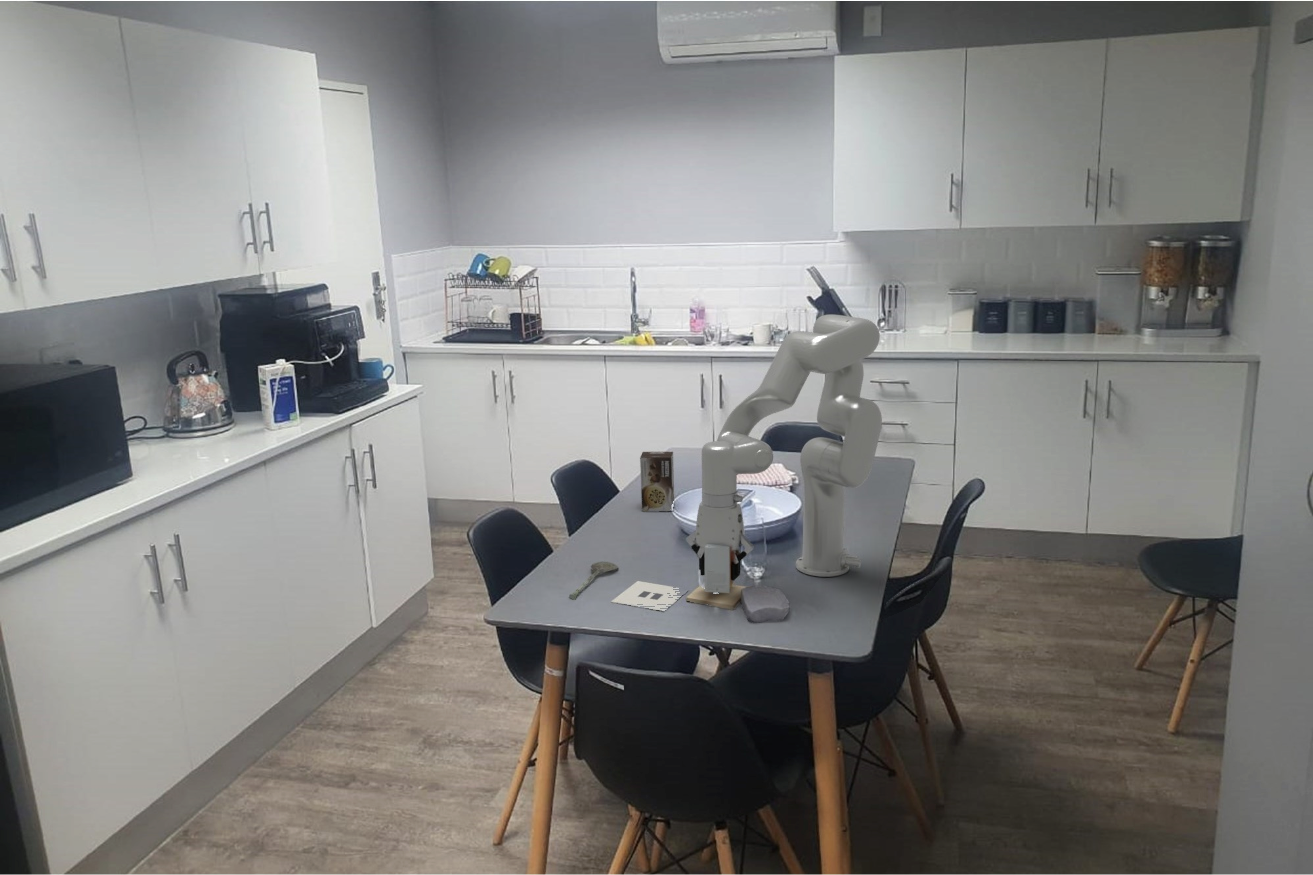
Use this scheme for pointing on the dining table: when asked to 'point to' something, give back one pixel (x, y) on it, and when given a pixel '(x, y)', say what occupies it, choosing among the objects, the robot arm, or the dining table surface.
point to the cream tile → (647, 595)
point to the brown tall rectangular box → (657, 481)
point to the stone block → (764, 604)
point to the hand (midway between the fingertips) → (719, 575)
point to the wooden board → (717, 597)
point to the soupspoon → (597, 568)
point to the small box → (718, 568)
